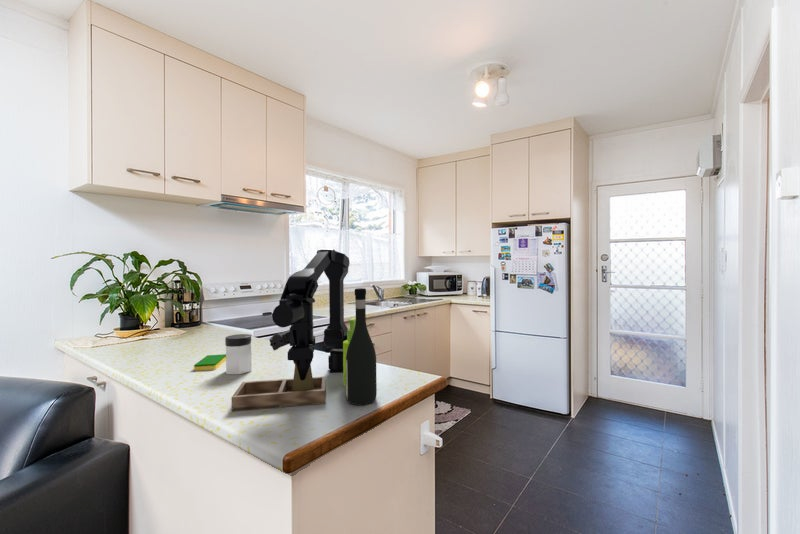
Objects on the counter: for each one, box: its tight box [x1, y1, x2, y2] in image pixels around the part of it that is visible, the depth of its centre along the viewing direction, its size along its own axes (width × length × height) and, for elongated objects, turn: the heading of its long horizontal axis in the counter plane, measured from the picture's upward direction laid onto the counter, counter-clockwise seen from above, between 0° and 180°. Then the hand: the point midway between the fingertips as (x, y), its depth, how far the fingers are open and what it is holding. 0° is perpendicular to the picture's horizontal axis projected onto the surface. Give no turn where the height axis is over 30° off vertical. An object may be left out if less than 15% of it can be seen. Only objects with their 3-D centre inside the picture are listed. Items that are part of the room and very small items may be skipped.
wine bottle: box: [345, 287, 378, 406], centre depth 98 cm, size 8×8×30 cm
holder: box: [231, 375, 327, 412], centre depth 100 cm, size 23×12×4 cm, turn 101°
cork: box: [292, 360, 314, 391], centre depth 101 cm, size 6×6×11 cm
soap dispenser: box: [342, 317, 356, 387], centre depth 111 cm, size 6×7×20 cm
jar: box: [224, 333, 253, 375], centre depth 126 cm, size 9×8×12 cm
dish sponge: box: [193, 353, 226, 372], centre depth 134 cm, size 7×14×2 cm, turn 10°
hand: (303, 377), depth 101 cm, fingers closed on cork, 4 cm apart
